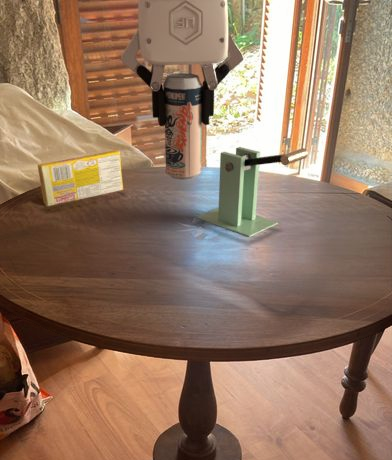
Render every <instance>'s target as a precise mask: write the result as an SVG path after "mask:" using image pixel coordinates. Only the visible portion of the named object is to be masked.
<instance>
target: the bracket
mask: <svg viewBox="0 0 392 460" xmlns="http://www.w3.org/2000/svg"><path fill="white" fill-rule="evenodd" d="M244 154H249V156H250V158H258V157H261V152H260V151H258V150H254V149H250V148H246V147H242V146H238V147H236V148H235V154H234V153H230V152H228V151H222V152H220V155H219V156H220V161H219V164H220V165H219V186H218V187H219V189H218V207H217V208H215V209H213V210H210V211H207V212H204V213H202V214H199V215H197V216H196V219H199V220H201V221H204V222H207V223H210V224H212V225H215V226H218V227H220V228H223V229H226V230H229V231H231V232H234V233H237V234H240V235H243V236H245V237H248V238H250V237H253V236H255V235H257V234H259V233H261V232H263V231H265V230H267V229H268V230H269V229H270V228H272V227H274V226H276V225H278V223H279V222H277V221H274V220H272V219H268V218H265V217H262V216H259V215H257V214H256V213H257V204H258V203H257V201H258V191H259V190H258V187H259V174H260V165H252V166H251V169H249V170H246V171H244V164H245V157H243V156H239V155H244Z"/></svg>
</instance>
